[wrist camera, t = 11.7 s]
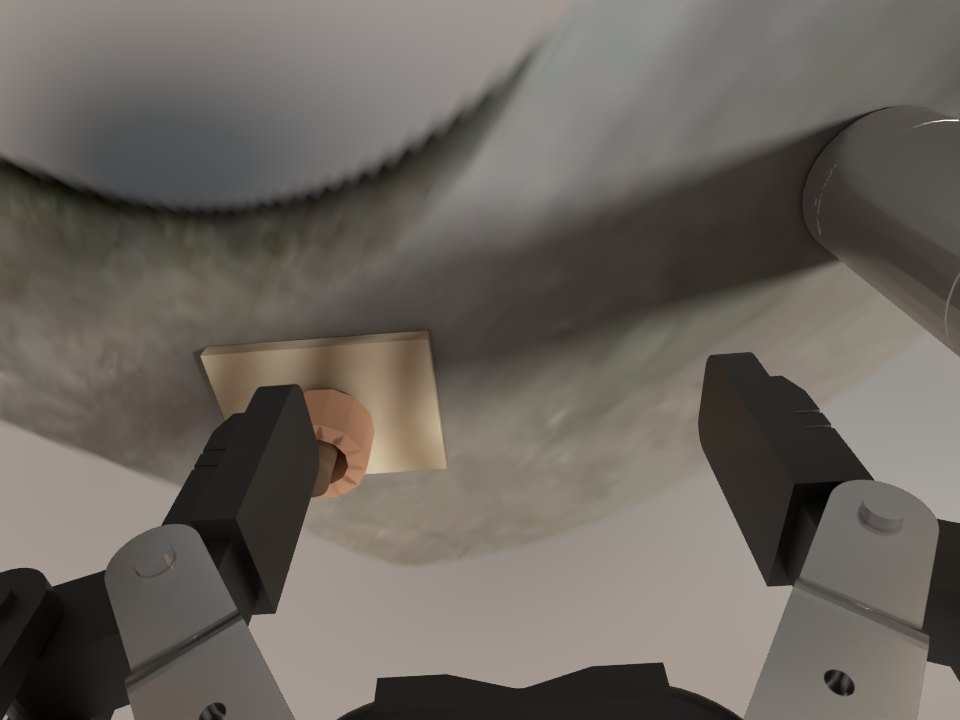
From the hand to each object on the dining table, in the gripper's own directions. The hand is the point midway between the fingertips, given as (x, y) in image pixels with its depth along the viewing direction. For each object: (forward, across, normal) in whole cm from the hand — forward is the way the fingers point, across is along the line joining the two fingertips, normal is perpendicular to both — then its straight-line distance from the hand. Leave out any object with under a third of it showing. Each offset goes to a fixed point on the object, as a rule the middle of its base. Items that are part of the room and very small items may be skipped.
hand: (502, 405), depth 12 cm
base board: (+28, +13, +20) cm, 37 cm away
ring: (+26, +13, +20) cm, 35 cm away
